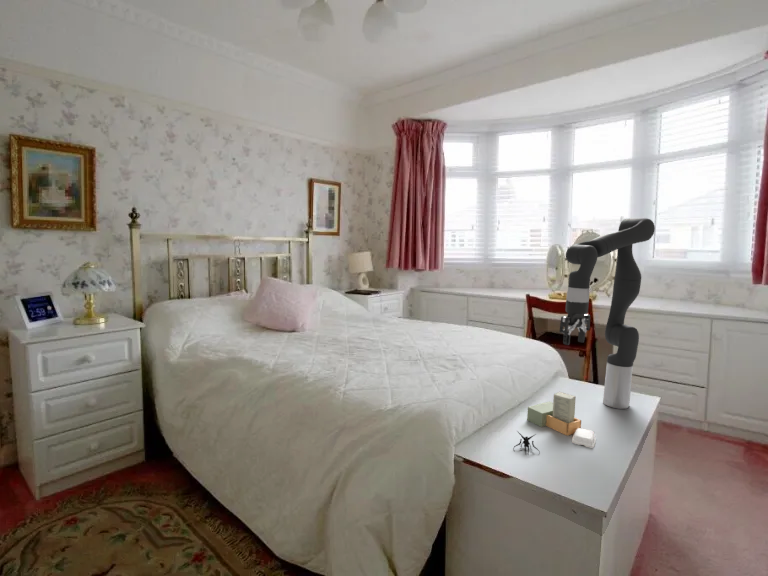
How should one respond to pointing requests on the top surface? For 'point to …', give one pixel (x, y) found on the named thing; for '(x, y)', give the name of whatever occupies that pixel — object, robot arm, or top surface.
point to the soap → (584, 437)
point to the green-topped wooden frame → (551, 419)
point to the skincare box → (564, 407)
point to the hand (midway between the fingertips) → (573, 343)
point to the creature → (526, 443)
